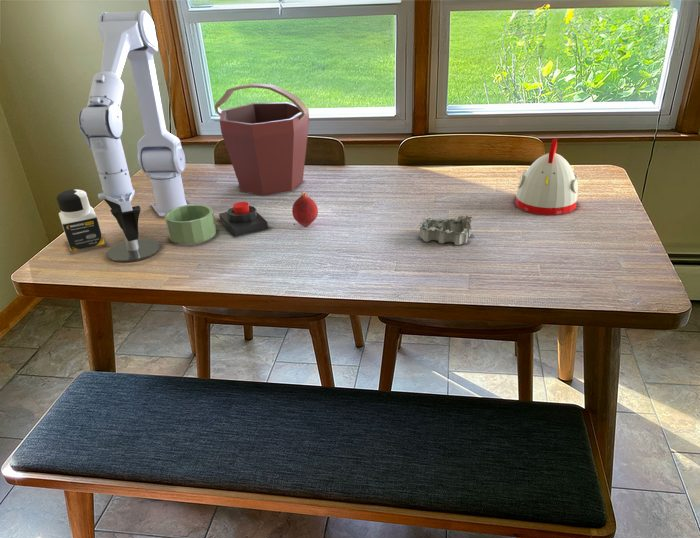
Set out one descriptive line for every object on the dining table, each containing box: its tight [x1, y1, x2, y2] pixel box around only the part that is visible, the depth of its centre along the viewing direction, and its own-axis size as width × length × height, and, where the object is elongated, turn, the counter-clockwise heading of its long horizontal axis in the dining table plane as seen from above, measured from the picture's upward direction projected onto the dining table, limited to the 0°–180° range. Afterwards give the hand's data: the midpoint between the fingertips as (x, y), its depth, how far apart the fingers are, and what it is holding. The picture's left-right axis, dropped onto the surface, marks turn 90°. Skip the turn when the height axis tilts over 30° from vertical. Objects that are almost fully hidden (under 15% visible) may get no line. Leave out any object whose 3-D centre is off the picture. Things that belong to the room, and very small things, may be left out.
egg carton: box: [418, 215, 473, 246], centre depth 132 cm, size 11×8×4 cm
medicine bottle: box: [56, 188, 105, 252], centre depth 134 cm, size 7×7×12 cm
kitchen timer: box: [515, 138, 579, 216], centre depth 142 cm, size 14×14×15 cm
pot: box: [164, 203, 217, 245], centre depth 137 cm, size 10×10×6 cm
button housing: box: [218, 205, 269, 237], centre depth 142 cm, size 11×8×4 cm
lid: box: [106, 233, 162, 264], centre depth 131 cm, size 11×11×5 cm
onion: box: [291, 191, 319, 228], centre depth 139 cm, size 6×6×8 cm
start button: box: [232, 201, 250, 214], centre depth 141 cm, size 4×4×2 cm
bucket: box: [214, 82, 310, 196], centre depth 159 cm, size 24×22×25 cm
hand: (129, 233), depth 130 cm, fingers open, 7 cm apart
